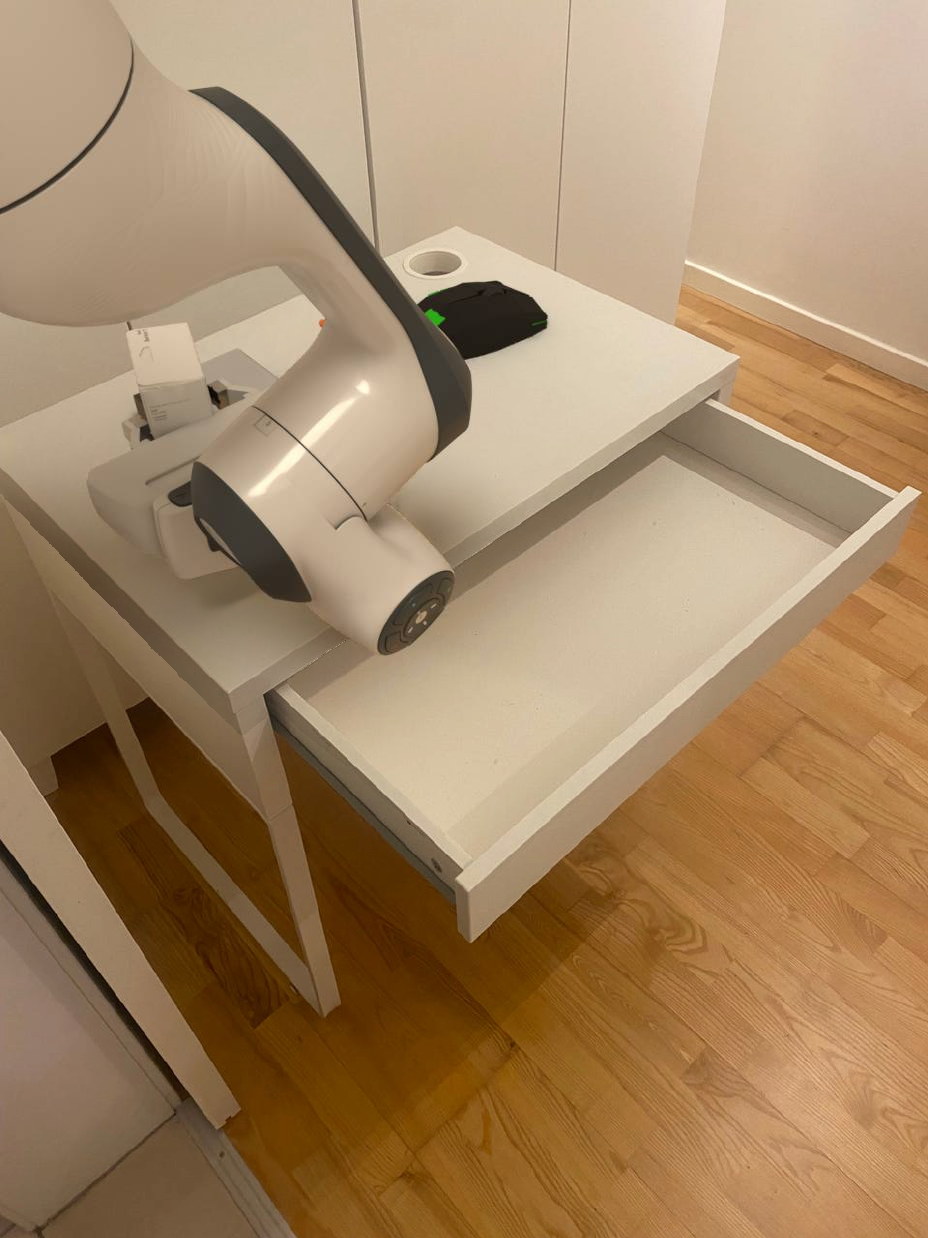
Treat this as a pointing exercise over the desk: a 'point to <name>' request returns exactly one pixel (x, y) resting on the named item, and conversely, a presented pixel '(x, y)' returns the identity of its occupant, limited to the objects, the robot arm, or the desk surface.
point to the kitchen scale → (229, 374)
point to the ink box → (169, 377)
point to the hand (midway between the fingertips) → (173, 406)
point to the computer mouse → (484, 316)
